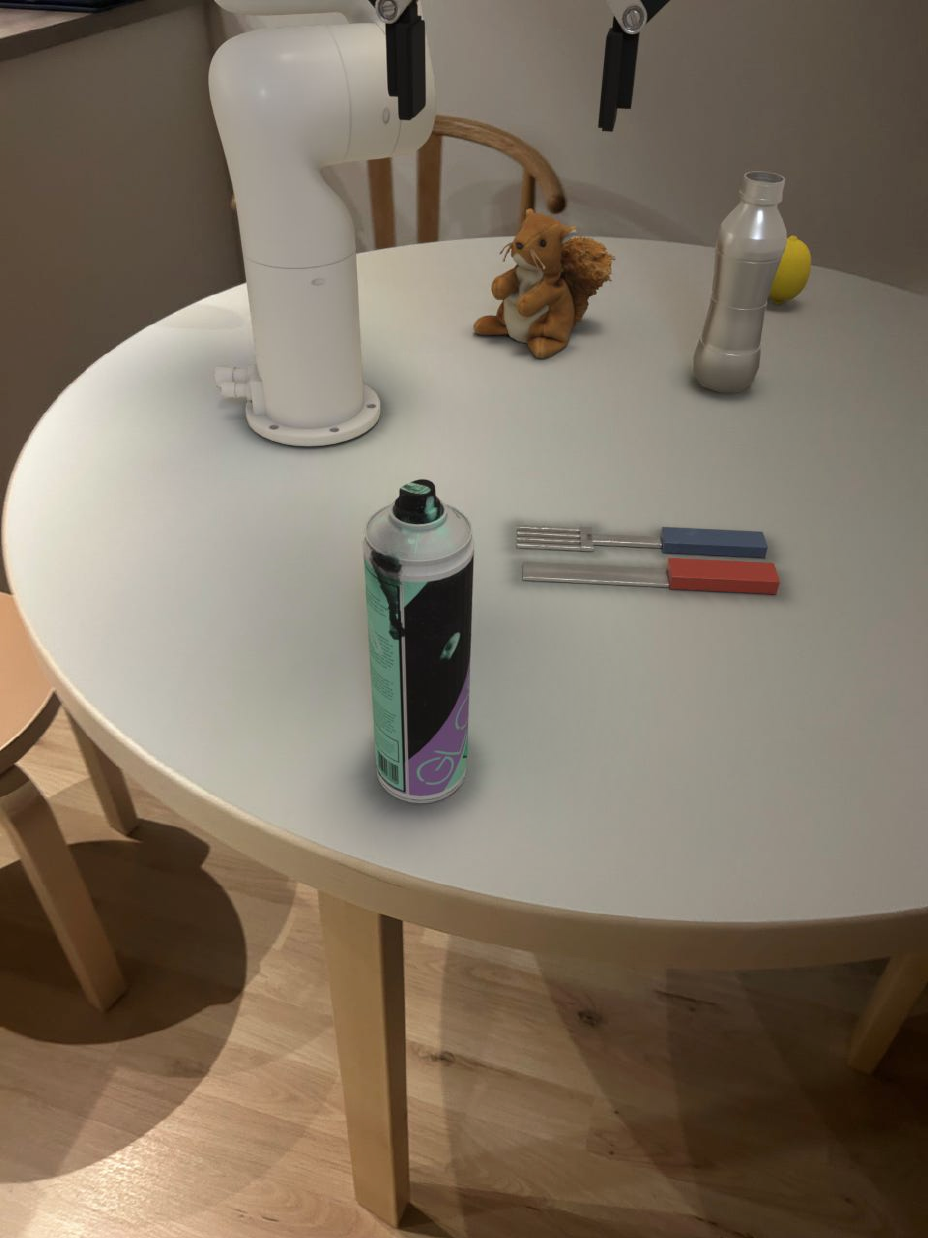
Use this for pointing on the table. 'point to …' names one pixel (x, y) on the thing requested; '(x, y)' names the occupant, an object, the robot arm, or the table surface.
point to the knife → (666, 575)
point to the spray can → (419, 641)
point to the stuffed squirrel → (546, 284)
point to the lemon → (791, 271)
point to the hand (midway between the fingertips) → (508, 119)
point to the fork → (649, 540)
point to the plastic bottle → (742, 285)
